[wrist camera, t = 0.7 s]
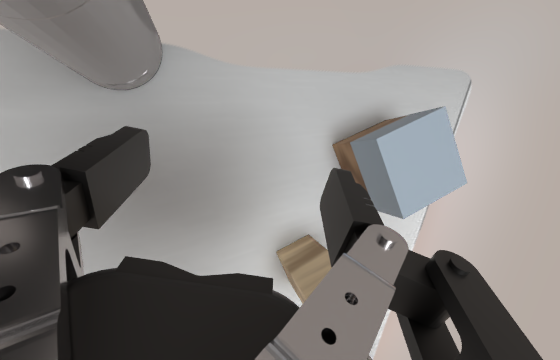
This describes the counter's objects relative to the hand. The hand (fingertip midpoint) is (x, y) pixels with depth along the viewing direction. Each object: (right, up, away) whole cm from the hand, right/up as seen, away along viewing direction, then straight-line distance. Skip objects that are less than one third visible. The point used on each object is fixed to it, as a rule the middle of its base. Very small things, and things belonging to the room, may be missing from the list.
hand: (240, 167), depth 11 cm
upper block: (+16, +2, +20) cm, 26 cm away
